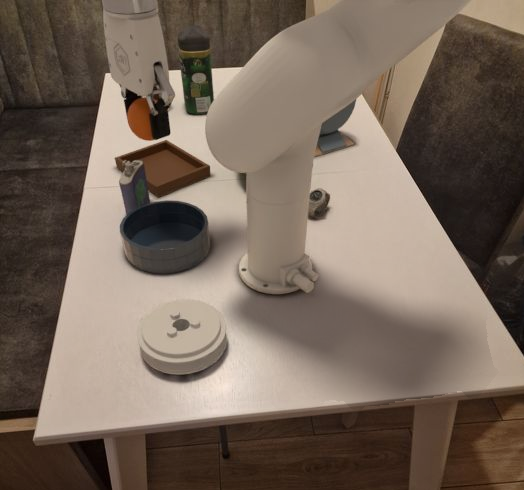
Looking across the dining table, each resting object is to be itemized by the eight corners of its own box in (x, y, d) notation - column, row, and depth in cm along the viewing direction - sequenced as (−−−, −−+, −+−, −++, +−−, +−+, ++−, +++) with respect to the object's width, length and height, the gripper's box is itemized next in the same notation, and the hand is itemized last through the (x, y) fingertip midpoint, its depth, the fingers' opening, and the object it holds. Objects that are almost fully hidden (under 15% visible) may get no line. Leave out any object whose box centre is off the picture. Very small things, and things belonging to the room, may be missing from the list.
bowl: (226, 249, 88) (225, 225, 84) (155, 285, 81) (150, 261, 77) (178, 214, 95) (175, 191, 92) (109, 244, 88) (103, 221, 85)
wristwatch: (302, 216, 95) (304, 193, 91) (319, 203, 98) (321, 180, 95) (317, 222, 94) (319, 199, 90) (334, 209, 97) (337, 186, 93)
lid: (134, 378, 67) (127, 354, 64) (148, 316, 76) (142, 291, 72) (225, 378, 67) (223, 355, 64) (229, 316, 76) (227, 291, 72)
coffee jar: (183, 102, 133) (174, 23, 119) (212, 100, 134) (206, 21, 120) (186, 116, 127) (177, 34, 113) (216, 114, 128) (211, 33, 114)
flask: (138, 227, 92) (127, 174, 84) (124, 226, 92) (111, 173, 85) (153, 202, 98) (143, 150, 90) (139, 201, 99) (128, 149, 91)
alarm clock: (332, 128, 122) (341, 49, 109) (357, 143, 117) (370, 62, 104) (286, 142, 117) (289, 60, 104) (309, 158, 112) (316, 74, 98)
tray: (210, 176, 106) (209, 165, 104) (158, 197, 100) (156, 186, 98) (167, 149, 114) (166, 139, 112) (116, 168, 108) (114, 157, 106)
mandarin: (177, 139, 81) (172, 99, 76) (145, 151, 78) (138, 110, 73) (155, 127, 84) (149, 87, 79) (123, 137, 81) (115, 97, 76)
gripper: (73, -10, 69) (101, 118, 82) (141, 18, 61) (160, 155, 74) (119, -18, 73) (139, 107, 86) (189, 8, 64) (199, 141, 78)
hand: (149, 128), depth 80 cm, fingers closed on mandarin, 6 cm apart
